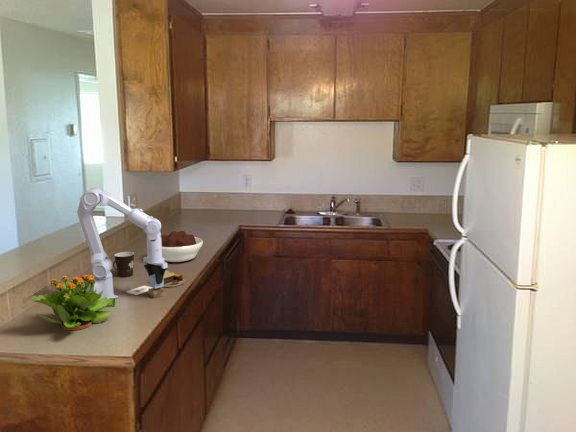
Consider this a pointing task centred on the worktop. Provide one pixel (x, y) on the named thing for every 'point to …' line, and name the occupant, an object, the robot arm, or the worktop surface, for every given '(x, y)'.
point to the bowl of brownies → (180, 246)
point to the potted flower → (76, 303)
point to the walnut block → (156, 292)
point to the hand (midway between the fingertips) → (156, 282)
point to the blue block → (153, 282)
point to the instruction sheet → (139, 290)
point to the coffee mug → (124, 264)
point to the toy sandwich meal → (172, 279)
